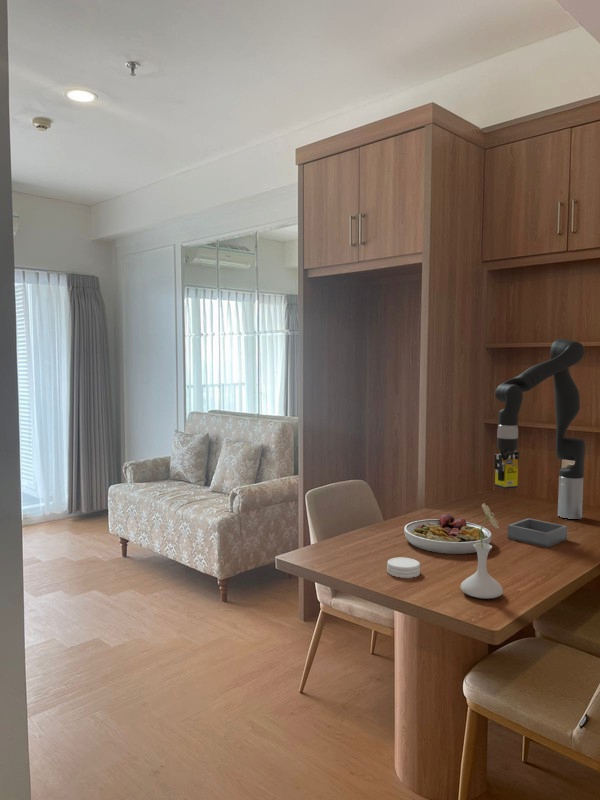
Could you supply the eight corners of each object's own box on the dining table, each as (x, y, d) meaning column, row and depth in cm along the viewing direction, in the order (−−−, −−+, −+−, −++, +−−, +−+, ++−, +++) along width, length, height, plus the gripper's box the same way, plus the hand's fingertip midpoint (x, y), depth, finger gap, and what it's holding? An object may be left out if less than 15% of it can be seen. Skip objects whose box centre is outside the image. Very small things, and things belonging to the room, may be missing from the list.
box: (527, 531, 233) (528, 518, 233) (566, 539, 222) (567, 526, 222) (507, 538, 223) (508, 525, 223) (547, 548, 212) (547, 533, 212)
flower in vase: (501, 605, 162) (504, 512, 160) (457, 598, 166) (459, 508, 164) (504, 588, 174) (507, 501, 172) (463, 582, 178) (465, 498, 177)
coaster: (380, 572, 187) (380, 560, 187) (402, 565, 194) (402, 554, 193) (404, 581, 180) (404, 569, 179) (426, 574, 186) (427, 563, 185)
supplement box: (517, 487, 232) (518, 459, 231) (505, 489, 229) (505, 460, 229) (507, 484, 237) (508, 456, 236) (494, 486, 235) (495, 457, 234)
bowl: (495, 560, 200) (496, 536, 199) (402, 553, 206) (403, 531, 205) (486, 534, 229) (487, 514, 228) (405, 529, 235) (405, 509, 234)
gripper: (506, 439, 224) (505, 483, 225) (526, 436, 234) (525, 478, 235) (488, 437, 230) (487, 480, 231) (508, 434, 239) (507, 475, 241)
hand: (506, 479), depth 233 cm, fingers closed on supplement box, 7 cm apart
